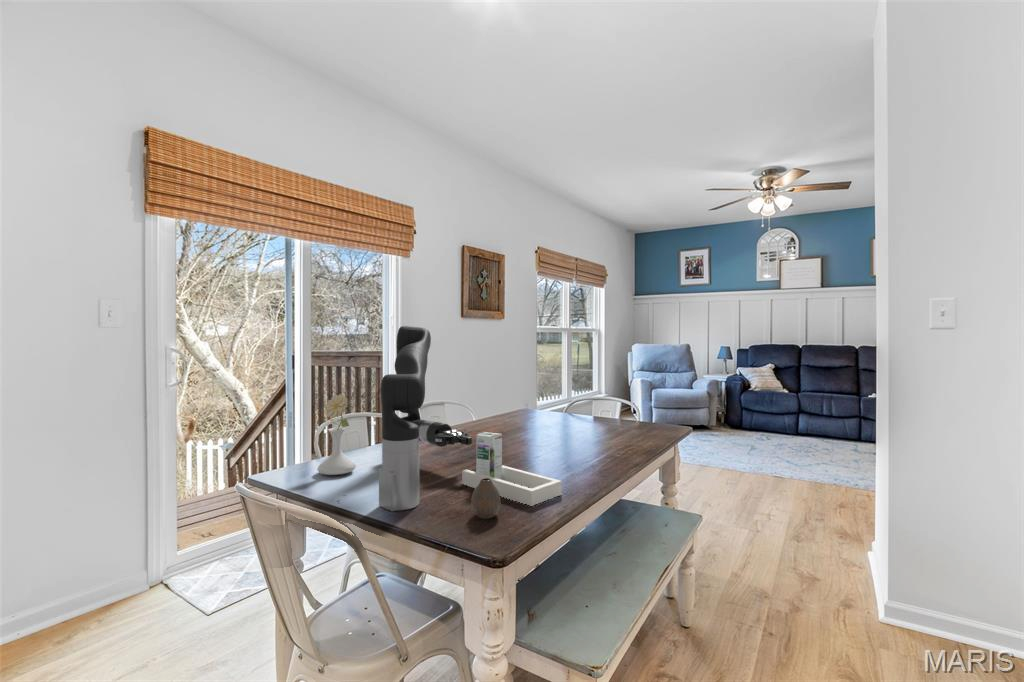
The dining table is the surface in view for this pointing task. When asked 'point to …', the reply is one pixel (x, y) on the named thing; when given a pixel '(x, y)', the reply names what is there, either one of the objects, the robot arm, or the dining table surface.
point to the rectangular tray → (518, 485)
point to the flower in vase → (336, 440)
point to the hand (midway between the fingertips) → (470, 441)
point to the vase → (486, 499)
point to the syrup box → (489, 454)
